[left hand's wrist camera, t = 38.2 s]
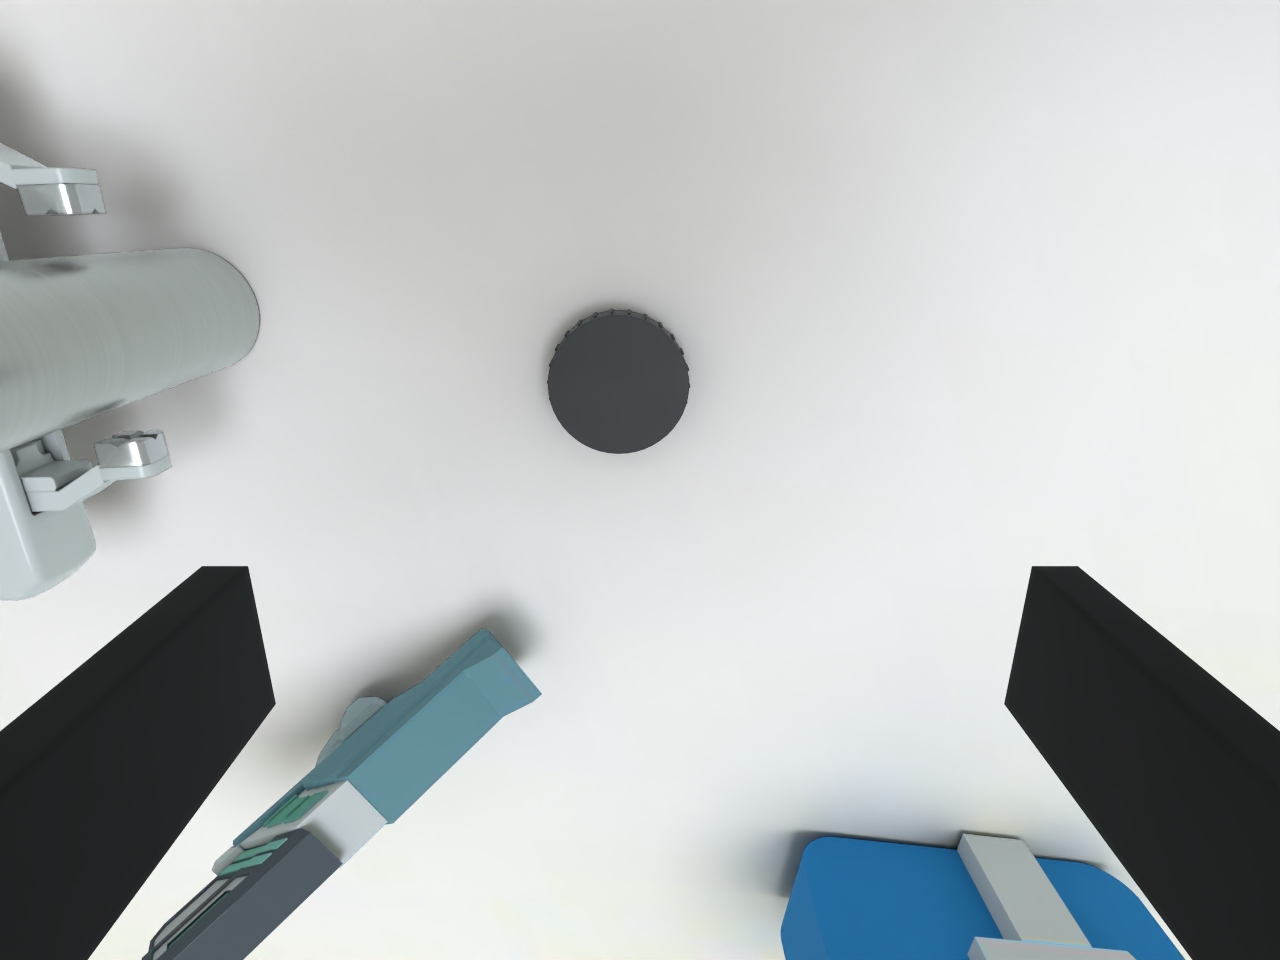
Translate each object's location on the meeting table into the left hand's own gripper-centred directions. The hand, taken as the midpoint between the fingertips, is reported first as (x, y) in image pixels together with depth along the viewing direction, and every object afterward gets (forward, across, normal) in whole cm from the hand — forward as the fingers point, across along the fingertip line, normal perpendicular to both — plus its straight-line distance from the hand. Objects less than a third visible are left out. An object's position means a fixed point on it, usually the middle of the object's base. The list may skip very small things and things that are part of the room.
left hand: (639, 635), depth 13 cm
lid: (+22, +1, 0) cm, 22 cm away
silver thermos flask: (+23, +20, -3) cm, 30 cm away
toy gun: (+23, +13, +18) cm, 32 cm away
